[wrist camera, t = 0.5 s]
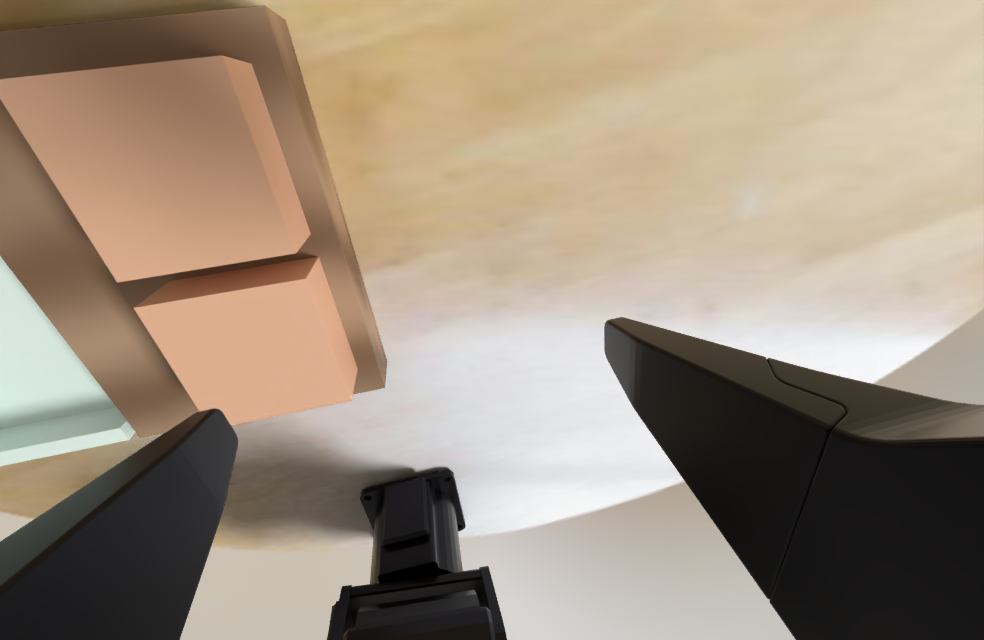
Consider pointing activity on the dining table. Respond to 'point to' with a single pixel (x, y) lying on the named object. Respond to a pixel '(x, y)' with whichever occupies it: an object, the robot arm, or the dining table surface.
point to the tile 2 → (254, 340)
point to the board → (110, 305)
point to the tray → (46, 386)
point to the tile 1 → (164, 162)
